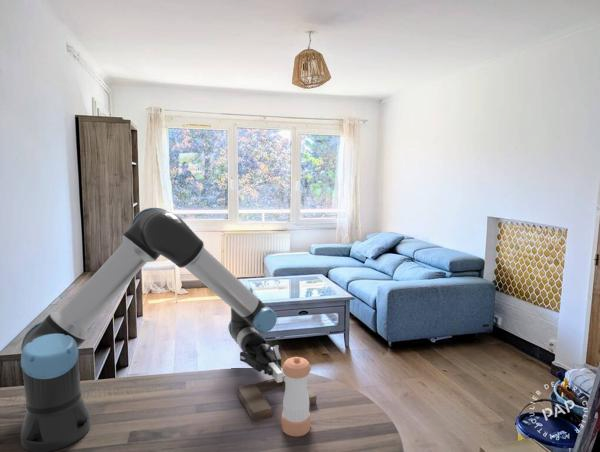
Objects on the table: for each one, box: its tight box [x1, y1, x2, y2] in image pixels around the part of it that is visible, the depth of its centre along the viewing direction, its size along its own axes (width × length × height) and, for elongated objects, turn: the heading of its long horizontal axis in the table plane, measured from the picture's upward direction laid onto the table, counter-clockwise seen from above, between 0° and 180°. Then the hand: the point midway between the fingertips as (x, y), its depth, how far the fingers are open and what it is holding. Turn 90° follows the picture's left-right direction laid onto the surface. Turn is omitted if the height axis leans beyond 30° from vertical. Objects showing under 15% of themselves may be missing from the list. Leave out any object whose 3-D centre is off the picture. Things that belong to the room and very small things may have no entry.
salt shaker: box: [281, 356, 312, 437], centre depth 106 cm, size 7×7×19 cm
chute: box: [237, 375, 317, 422], centre depth 120 cm, size 13×18×2 cm
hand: (279, 377), depth 116 cm, fingers closed
